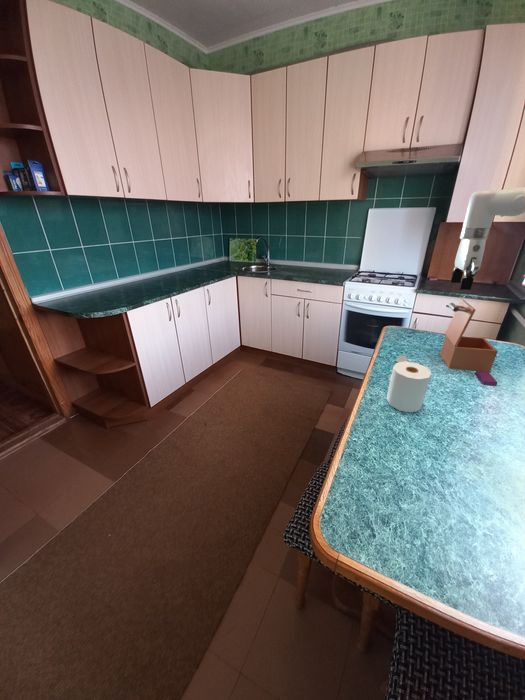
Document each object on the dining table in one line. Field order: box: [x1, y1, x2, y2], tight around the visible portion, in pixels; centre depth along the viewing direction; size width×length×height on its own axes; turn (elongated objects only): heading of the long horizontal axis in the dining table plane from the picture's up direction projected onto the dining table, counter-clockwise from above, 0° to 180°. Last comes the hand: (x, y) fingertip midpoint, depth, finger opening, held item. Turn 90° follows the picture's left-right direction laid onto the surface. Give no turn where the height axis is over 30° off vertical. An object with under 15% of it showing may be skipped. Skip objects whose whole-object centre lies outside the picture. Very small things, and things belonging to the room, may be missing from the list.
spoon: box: [388, 355, 409, 382], centre depth 109 cm, size 4×21×2 cm, turn 145°
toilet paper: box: [386, 361, 432, 414], centre depth 89 cm, size 10×10×12 cm
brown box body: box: [439, 335, 499, 373], centre depth 111 cm, size 14×12×9 cm
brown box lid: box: [444, 299, 476, 347], centre depth 108 cm, size 14×12×5 cm
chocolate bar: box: [474, 371, 498, 387], centre depth 102 cm, size 7×4×2 cm, turn 166°
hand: (459, 285), depth 102 cm, fingers open, 9 cm apart
